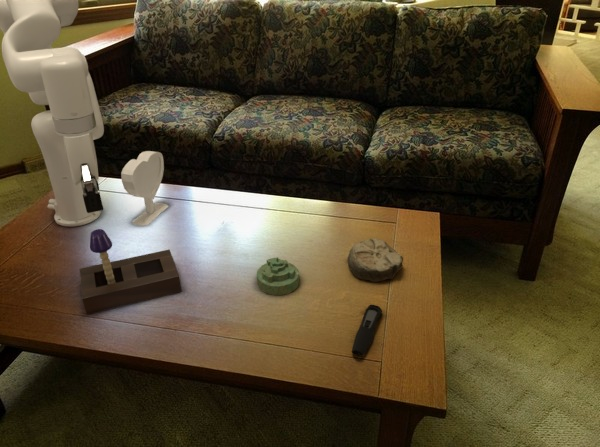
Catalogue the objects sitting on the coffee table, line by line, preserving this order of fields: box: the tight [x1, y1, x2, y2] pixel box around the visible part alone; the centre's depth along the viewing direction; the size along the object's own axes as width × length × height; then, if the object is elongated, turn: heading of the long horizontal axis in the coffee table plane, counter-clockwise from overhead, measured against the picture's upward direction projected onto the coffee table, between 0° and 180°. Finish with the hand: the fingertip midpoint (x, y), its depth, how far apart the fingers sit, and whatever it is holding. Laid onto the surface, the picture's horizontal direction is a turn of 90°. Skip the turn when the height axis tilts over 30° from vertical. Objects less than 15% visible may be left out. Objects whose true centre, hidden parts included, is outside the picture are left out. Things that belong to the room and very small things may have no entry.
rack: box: [79, 249, 182, 315], centre depth 121 cm, size 12×21×4 cm, turn 113°
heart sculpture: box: [120, 150, 169, 226], centre depth 148 cm, size 16×5×18 cm, turn 162°
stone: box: [347, 237, 404, 283], centre depth 128 cm, size 13×13×5 cm
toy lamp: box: [89, 228, 116, 285], centre depth 117 cm, size 5×5×17 cm
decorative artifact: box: [256, 257, 300, 296], centre depth 123 cm, size 10×7×10 cm
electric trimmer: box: [351, 304, 383, 357], centre depth 108 cm, size 4×16×3 cm, turn 159°
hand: (93, 200), depth 109 cm, fingers open, 9 cm apart
